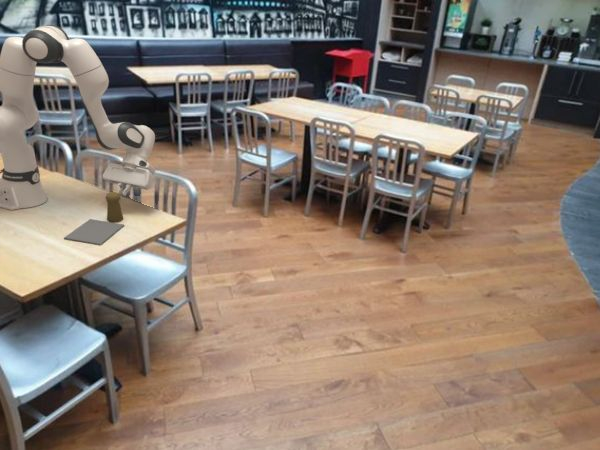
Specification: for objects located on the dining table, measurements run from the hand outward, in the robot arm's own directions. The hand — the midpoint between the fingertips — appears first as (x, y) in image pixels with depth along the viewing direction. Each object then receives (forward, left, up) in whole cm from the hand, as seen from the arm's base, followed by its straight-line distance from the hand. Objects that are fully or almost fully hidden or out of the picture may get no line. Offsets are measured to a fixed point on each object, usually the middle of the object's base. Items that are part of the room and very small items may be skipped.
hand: (121, 194), depth 179 cm
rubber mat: (-1, -17, -8) cm, 19 cm away
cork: (0, -5, -8) cm, 10 cm away
